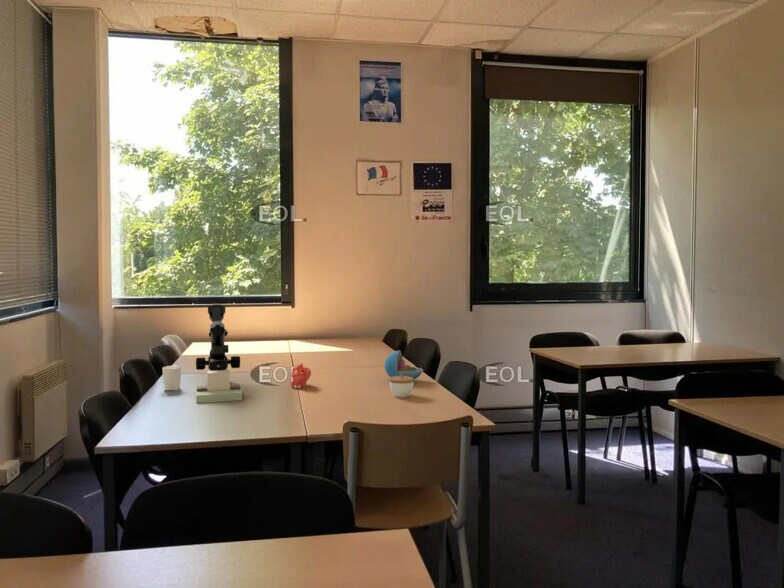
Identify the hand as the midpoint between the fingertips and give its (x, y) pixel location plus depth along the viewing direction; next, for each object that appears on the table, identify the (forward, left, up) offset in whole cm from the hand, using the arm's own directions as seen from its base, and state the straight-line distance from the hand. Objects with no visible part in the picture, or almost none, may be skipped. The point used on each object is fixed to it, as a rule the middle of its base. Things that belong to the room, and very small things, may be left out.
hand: (218, 378), depth 260 cm
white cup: (+3, -25, -7) cm, 26 cm away
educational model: (-65, +57, -7) cm, 87 cm away
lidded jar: (-37, +70, -7) cm, 79 cm away
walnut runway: (0, 0, -7) cm, 7 cm away
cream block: (+2, +2, -4) cm, 5 cm away
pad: (+7, +7, -7) cm, 12 cm away
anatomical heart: (-31, +21, -7) cm, 38 cm away
